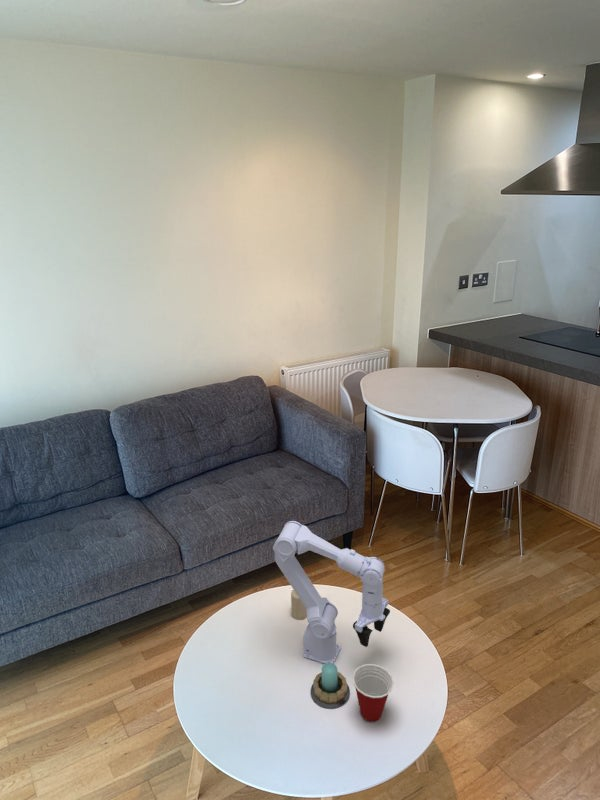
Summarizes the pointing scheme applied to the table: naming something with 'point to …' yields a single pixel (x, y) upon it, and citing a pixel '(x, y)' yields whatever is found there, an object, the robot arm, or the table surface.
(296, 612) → the candle
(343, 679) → the ring holder
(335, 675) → the peg
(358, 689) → the plastic cup
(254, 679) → the table surface
